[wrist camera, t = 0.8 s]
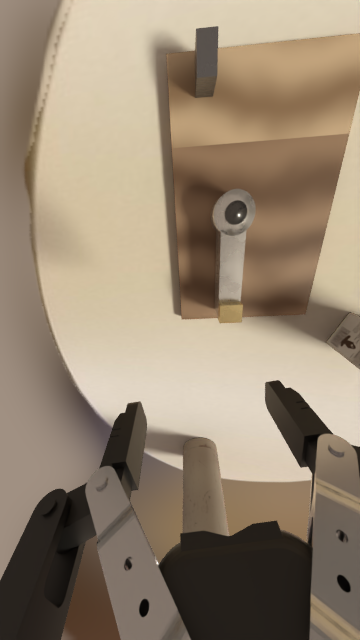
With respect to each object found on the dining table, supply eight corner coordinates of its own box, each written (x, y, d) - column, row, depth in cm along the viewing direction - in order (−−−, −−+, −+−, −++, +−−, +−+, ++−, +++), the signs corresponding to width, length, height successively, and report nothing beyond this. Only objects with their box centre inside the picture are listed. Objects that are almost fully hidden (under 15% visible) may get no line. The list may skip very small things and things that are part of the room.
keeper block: (194, 57, 18) (196, 28, 16) (213, 55, 18) (218, 26, 15) (195, 98, 19) (196, 77, 17) (213, 96, 19) (217, 75, 17)
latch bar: (210, 196, 23) (216, 187, 18) (247, 193, 22) (262, 184, 18) (209, 309, 29) (213, 323, 25) (238, 308, 29) (247, 322, 24)
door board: (167, 64, 19) (166, 54, 18) (362, 43, 18) (373, 31, 17) (181, 316, 31) (181, 319, 30) (300, 311, 30) (305, 314, 29)
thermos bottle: (222, 444, 45) (272, 721, 19) (205, 461, 48) (229, 720, 22) (193, 433, 43) (204, 717, 18) (177, 452, 46) (168, 716, 21)
